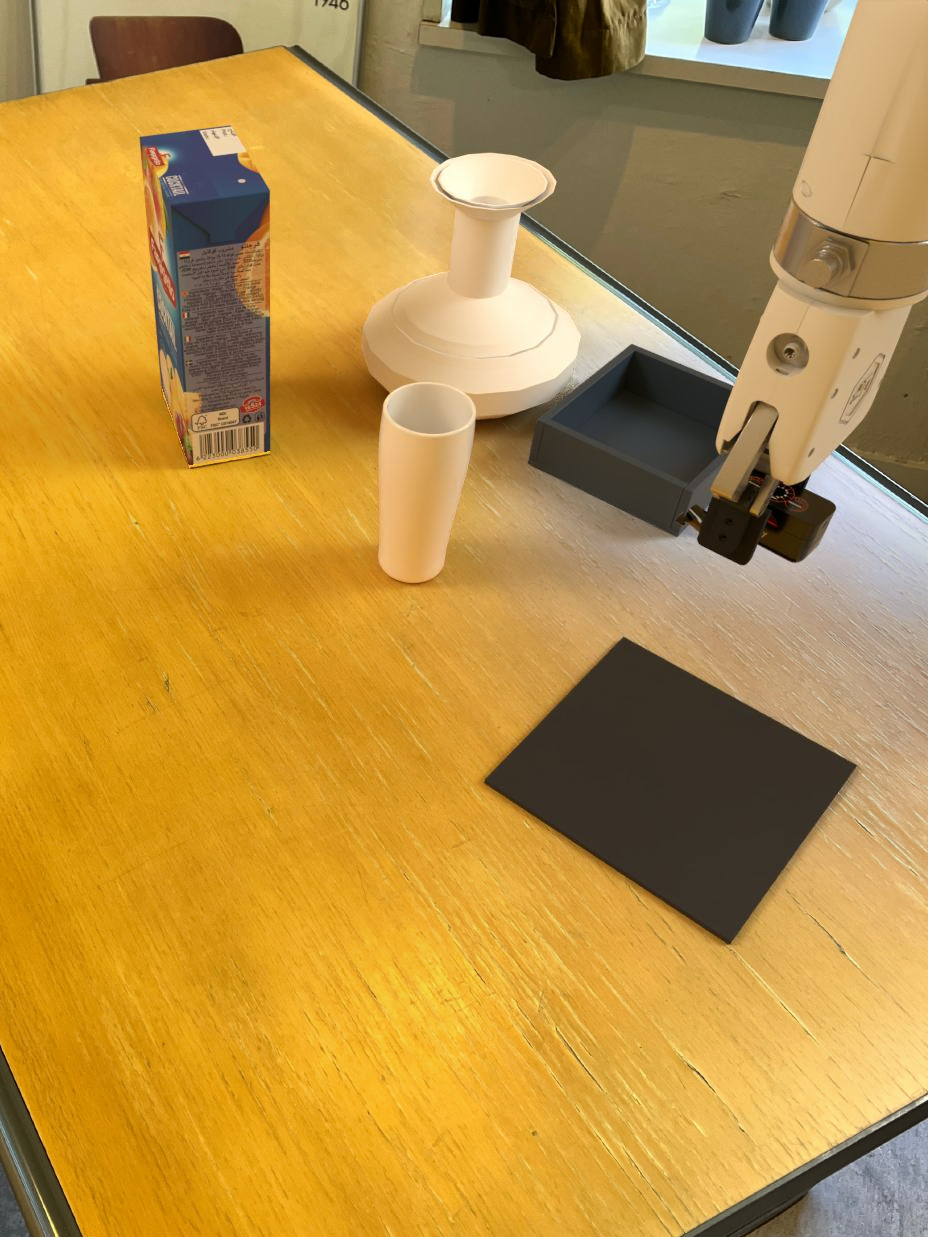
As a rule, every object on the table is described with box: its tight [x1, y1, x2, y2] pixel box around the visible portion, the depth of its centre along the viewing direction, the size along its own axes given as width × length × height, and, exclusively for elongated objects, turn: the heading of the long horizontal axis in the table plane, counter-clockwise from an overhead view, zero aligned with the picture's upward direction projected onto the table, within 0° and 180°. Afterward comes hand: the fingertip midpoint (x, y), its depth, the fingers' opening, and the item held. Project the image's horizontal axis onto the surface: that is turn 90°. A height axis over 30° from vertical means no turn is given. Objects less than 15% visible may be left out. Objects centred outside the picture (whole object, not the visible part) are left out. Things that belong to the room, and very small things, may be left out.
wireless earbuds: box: [676, 469, 837, 564], centre depth 66 cm, size 5×7×3 cm, turn 44°
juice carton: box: [138, 125, 272, 465], centre depth 95 cm, size 12×8×24 cm, turn 15°
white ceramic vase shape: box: [361, 152, 582, 421], centre depth 101 cm, size 20×20×19 cm
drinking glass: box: [377, 382, 477, 584], centre depth 85 cm, size 7×7×15 cm
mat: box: [483, 636, 858, 945], centre depth 77 cm, size 18×18×1 cm
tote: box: [527, 343, 734, 538], centre depth 98 cm, size 15×16×5 cm
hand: (744, 528), depth 67 cm, fingers closed on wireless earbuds, 4 cm apart
